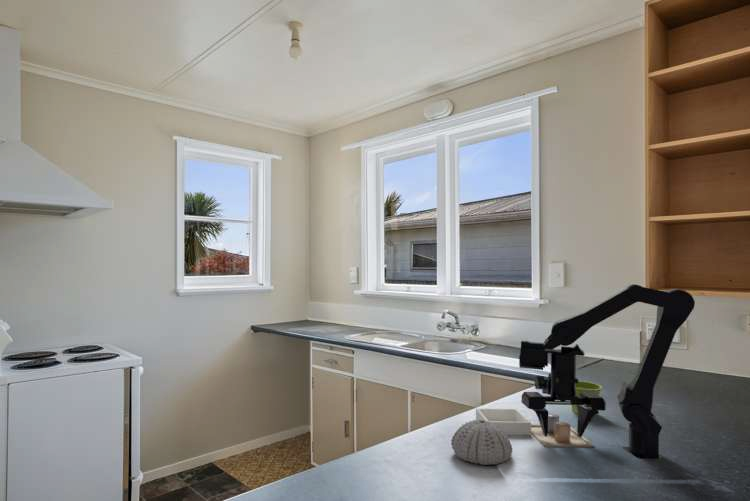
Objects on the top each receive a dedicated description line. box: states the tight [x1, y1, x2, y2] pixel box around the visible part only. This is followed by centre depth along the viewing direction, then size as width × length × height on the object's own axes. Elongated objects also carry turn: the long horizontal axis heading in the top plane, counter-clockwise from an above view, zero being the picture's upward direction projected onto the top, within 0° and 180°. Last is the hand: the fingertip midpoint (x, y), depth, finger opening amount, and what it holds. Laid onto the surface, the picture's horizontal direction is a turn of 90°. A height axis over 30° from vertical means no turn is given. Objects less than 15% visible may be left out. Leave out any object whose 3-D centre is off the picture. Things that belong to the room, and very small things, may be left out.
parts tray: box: [531, 423, 595, 448], centre depth 117 cm, size 14×12×1 cm
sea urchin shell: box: [450, 419, 513, 466], centre depth 105 cm, size 13×14×8 cm
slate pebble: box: [548, 412, 560, 434], centre depth 121 cm, size 4×4×4 cm
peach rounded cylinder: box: [554, 421, 571, 443], centre depth 114 cm, size 4×4×4 cm
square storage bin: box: [475, 407, 532, 436], centre depth 123 cm, size 11×11×4 cm
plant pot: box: [571, 380, 603, 416], centre depth 137 cm, size 9×9×9 cm
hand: (562, 436), depth 114 cm, fingers open, 8 cm apart
